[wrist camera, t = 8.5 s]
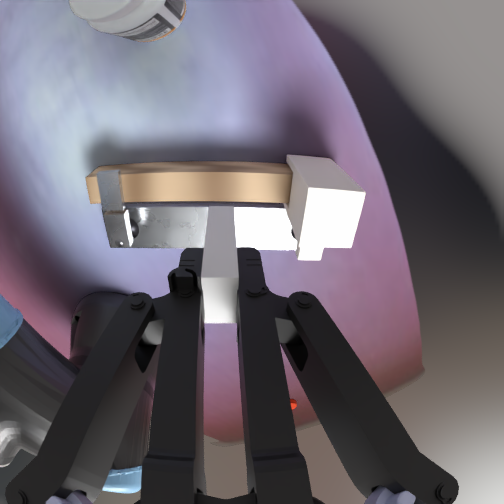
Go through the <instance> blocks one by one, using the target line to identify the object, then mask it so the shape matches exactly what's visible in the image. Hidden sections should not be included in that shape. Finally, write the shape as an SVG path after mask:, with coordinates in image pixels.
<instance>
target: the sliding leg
mask: <svg viewBox="0 0 504 504" xmlns="http://www.w3.org/2000/svg"><path fill="white" fill-rule="evenodd" d="M286 161H287V163H288V165H289V166H290V168H291V170H292V171H293V178H292V186H291V194H290V201H289V203H283V205H284V207H285V210H286V213H287V215H288V218H289V221H290V224H291V227H292V229H293V232H294V235H295V238H296V241H297V245H296V251H295V252H296V256H297V259H298V260H321V256H322V252H323V247H329V248H351V247H352V243H353V240H354V236H355V233H356V229H357V225H358V222H359V218H360V214H361V210H362V206H363V202H364V198H365V194H366V192H365V191H364V190H363V189H362V188H361V187H360V186H359V185H358V184H357V183H356V182H355V181H354V180H353V179H352V178H351V177H350V176H349V175H348V174H347V173H346V172H345V171H343V170H342V169H341V168H340V167H339V166H338V165H337V164H336V163H335V162H334V161H333V160H332V159H330V158H321V157H311V156H300V155H287V159H286Z"/></svg>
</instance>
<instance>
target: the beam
mask: <svg viewBox="0 0 504 504" xmlns="http://www.w3.org/2000/svg"><path fill="white" fill-rule="evenodd" d="M107 170H120V171H121V179H122V186H123V194H124V200H125V202H154V201H233V202H269V203H289V201H290V194H291V186H292V178H293V171H292V170H291V168H290V166H289V165H288V164H282V163H264V162H237V161H176V162H150V163H132V164H119V165H107V166H99V167H98V168H97V169H95V170H94V171H93V172H92V173H90V174H89V175H88V176H87V177H86V184H87V189H88V194H89V200H90V204H96V203H101V199H100V193H99V187H98V181H97V175H96V174H97V173H98V172H99V171H107Z"/></svg>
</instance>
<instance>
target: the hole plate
mask: <svg viewBox="0 0 504 504" xmlns="http://www.w3.org/2000/svg"><path fill="white" fill-rule="evenodd" d="M209 206H234V214H235V230H236V245H237V247H255V248H256V249H263V250H296V245H297V241H296V238H295V235H294V232H293V229H292V227H291V224H290V221H289V218H288V215H287V213H286V210H285V207H284V205H283V204H264V203H222V202H163V203H125V209H128V214H129V220H130V226H131V231H132V237H133V243H132V245H131V247H111V245H110V248H204V242H205V233H206V225H207V216H208V208H209ZM102 213H103V217H104V214H105V213H106V211H103V209H102ZM104 222H105V219H104ZM105 227H106V224H105ZM106 231H107V228H106ZM107 235H108V233H107ZM108 240H109V237H108ZM109 244H110V241H109ZM323 248H324V247H323Z"/></svg>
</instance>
